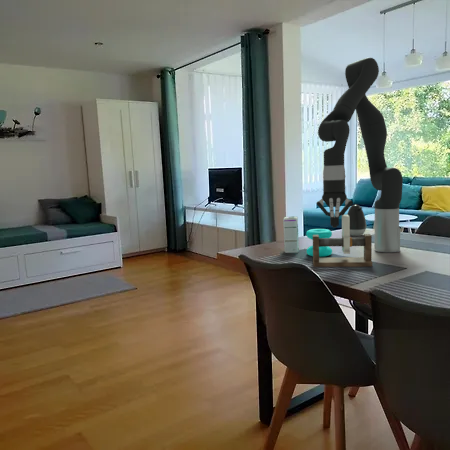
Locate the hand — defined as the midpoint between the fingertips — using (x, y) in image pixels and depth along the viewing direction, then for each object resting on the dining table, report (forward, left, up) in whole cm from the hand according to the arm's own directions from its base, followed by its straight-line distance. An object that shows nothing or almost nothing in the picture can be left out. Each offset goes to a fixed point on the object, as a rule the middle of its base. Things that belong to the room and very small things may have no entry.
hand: (334, 227), depth 154 cm
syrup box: (+16, -23, -14) cm, 31 cm away
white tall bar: (-4, 0, -9) cm, 10 cm away
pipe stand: (-2, 0, -13) cm, 14 cm away
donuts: (+5, -16, -14) cm, 22 cm away
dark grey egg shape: (-15, -61, -14) cm, 64 cm away
